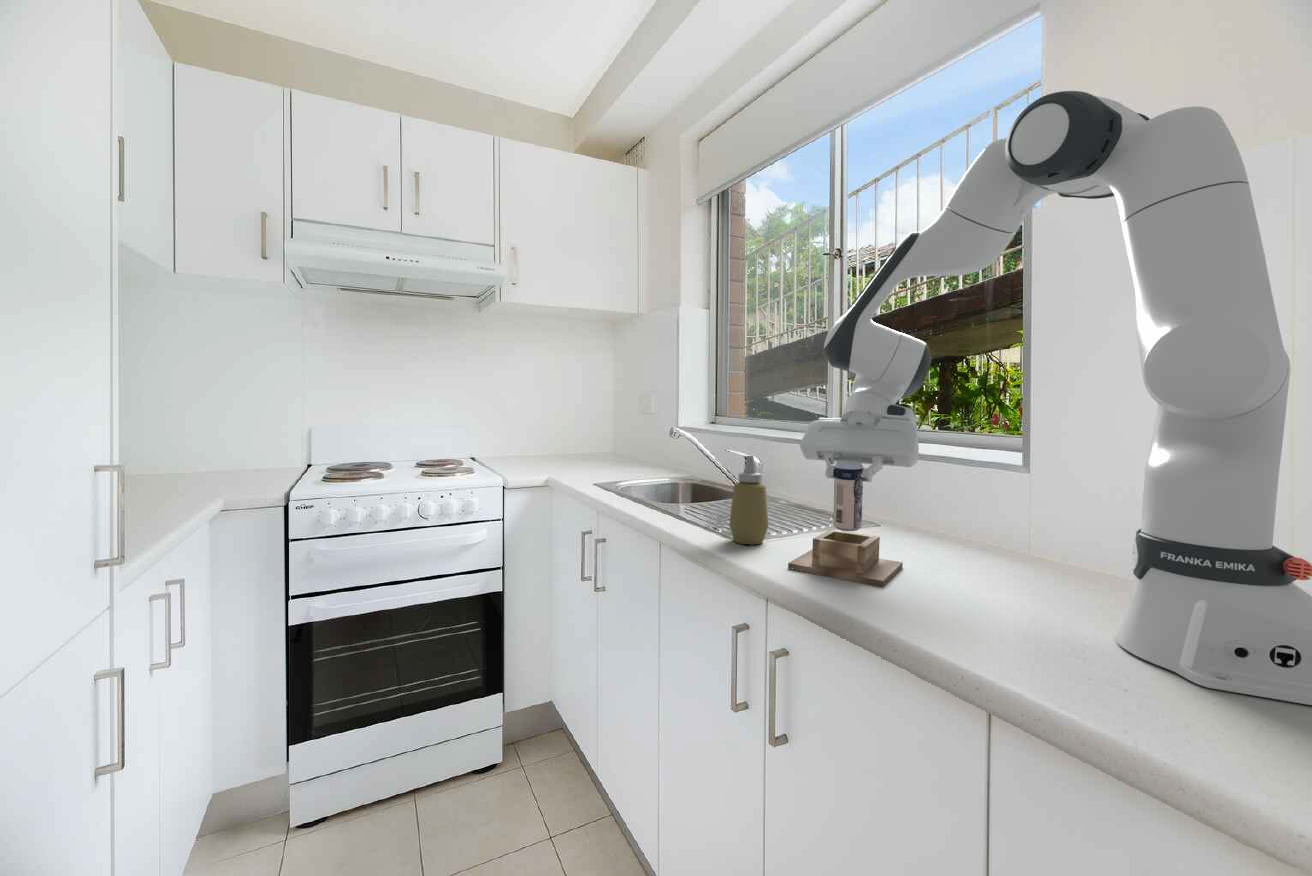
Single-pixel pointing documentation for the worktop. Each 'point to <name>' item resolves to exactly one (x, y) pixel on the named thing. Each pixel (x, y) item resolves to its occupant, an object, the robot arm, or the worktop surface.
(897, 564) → the can caddy
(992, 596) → the worktop surface
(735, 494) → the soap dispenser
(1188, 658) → the robot arm
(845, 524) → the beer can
